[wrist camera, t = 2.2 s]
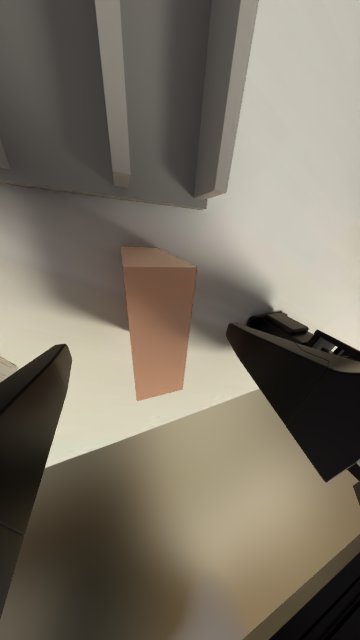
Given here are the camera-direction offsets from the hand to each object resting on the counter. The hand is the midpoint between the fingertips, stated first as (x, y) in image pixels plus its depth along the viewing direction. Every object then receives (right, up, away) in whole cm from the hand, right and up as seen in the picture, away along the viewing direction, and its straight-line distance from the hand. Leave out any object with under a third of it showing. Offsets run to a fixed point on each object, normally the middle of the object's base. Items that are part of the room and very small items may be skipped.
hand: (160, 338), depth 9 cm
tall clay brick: (-2, +4, +6) cm, 7 cm away
